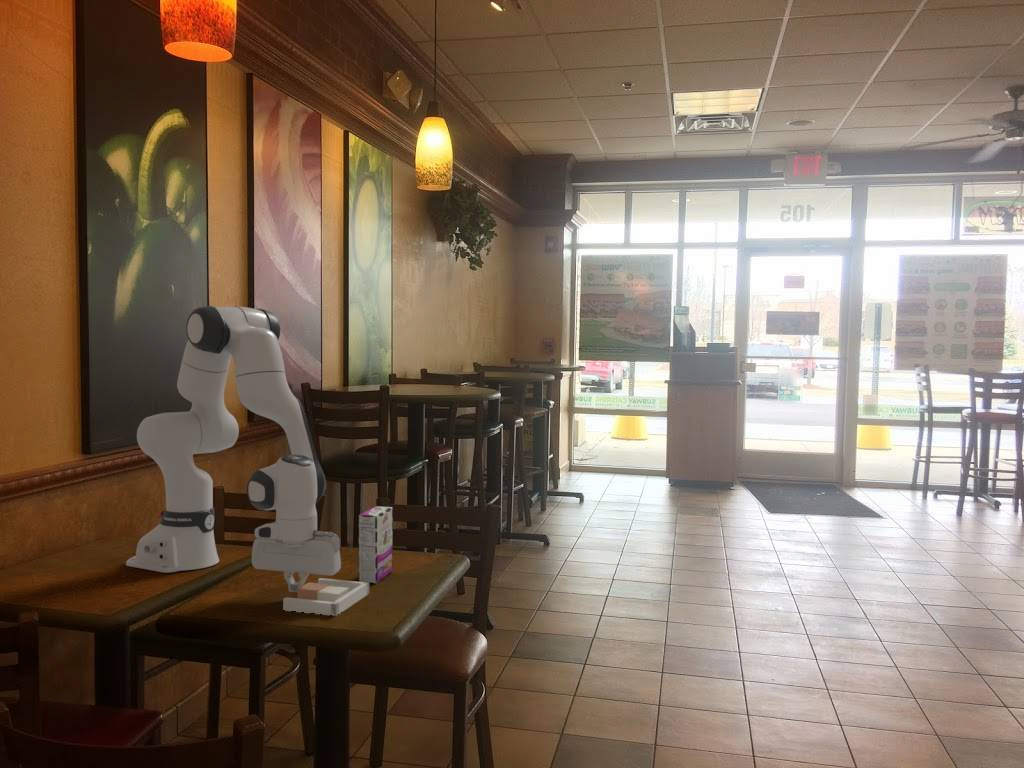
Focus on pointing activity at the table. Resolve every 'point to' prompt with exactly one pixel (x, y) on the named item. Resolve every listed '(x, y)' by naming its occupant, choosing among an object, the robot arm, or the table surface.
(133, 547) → the table surface
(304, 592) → the terracotta tile
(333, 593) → the cream tile
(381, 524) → the candy bar box
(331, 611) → the box
